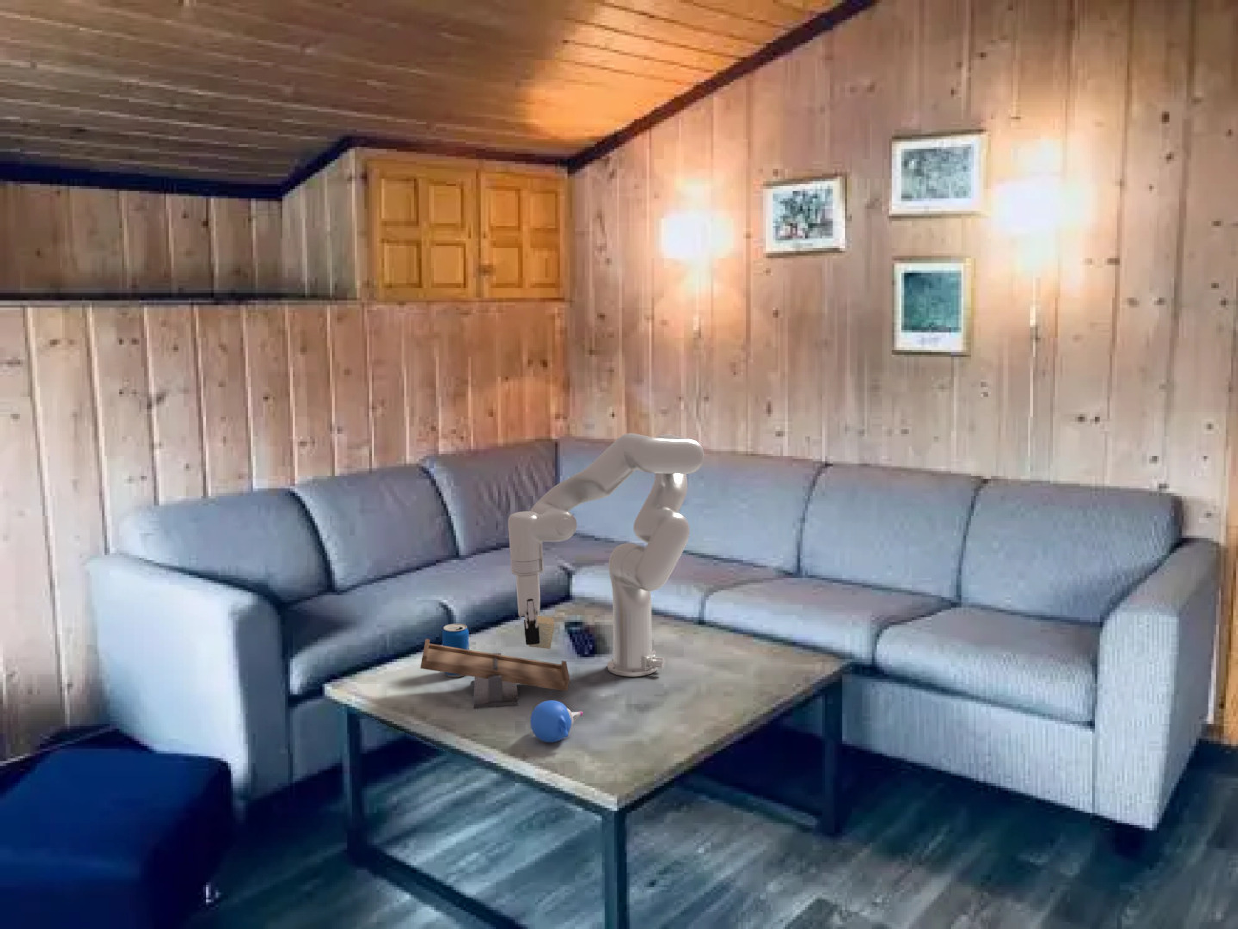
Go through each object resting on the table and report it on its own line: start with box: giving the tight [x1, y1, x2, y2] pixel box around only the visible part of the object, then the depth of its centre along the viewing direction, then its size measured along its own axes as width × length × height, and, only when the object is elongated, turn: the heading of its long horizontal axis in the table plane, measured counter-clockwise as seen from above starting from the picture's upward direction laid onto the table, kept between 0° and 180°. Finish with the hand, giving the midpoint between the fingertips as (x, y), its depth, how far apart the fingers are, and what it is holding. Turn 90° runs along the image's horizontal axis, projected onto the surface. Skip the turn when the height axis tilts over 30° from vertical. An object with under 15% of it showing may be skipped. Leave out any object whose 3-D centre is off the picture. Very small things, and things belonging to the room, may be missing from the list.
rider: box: [528, 615, 555, 650], centre depth 248 cm, size 5×5×6 cm
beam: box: [419, 638, 571, 692], centre depth 247 cm, size 34×13×3 cm, turn 97°
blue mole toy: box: [530, 699, 584, 743], centre depth 222 cm, size 12×12×8 cm
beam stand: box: [473, 652, 519, 710], centre depth 248 cm, size 10×18×7 cm, turn 7°
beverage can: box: [441, 623, 470, 678], centre depth 260 cm, size 6×6×12 cm
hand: (532, 639), depth 248 cm, fingers closed on rider, 5 cm apart
